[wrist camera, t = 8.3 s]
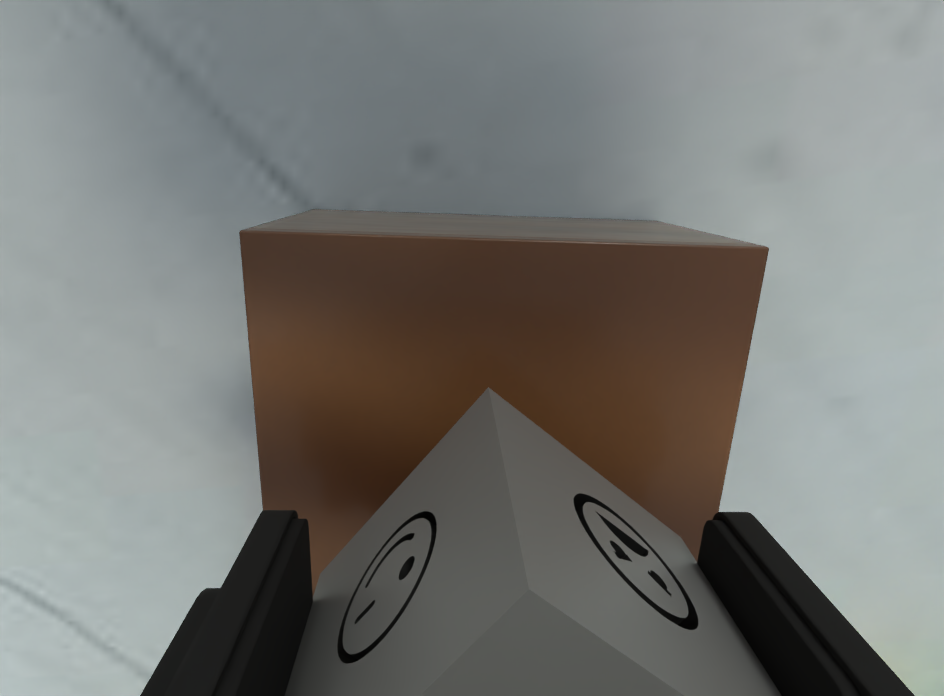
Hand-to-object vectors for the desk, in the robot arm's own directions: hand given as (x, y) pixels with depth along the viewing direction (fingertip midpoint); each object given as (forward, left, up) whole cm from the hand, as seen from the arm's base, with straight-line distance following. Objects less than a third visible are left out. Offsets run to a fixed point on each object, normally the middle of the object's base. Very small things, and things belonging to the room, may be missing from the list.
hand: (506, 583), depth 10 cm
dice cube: (0, 0, -1) cm, 1 cm away
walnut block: (0, 0, -8) cm, 8 cm away
